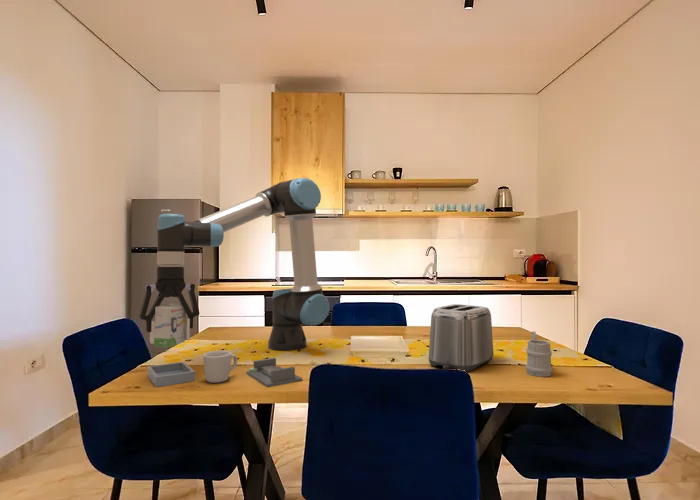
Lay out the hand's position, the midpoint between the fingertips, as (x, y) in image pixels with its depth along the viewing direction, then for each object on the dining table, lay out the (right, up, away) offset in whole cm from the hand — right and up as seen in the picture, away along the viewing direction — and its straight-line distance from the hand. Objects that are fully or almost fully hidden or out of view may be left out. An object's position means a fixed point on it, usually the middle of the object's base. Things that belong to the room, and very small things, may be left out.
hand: (170, 341), depth 131 cm
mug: (+112, -11, +7) cm, 113 cm away
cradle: (+31, -11, +1) cm, 33 cm away
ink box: (0, -1, 0) cm, 1 cm away
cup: (+16, -11, -1) cm, 19 cm away
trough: (0, -11, 0) cm, 11 cm away
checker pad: (+31, -10, +1) cm, 32 cm away
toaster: (+91, -11, +17) cm, 93 cm away
